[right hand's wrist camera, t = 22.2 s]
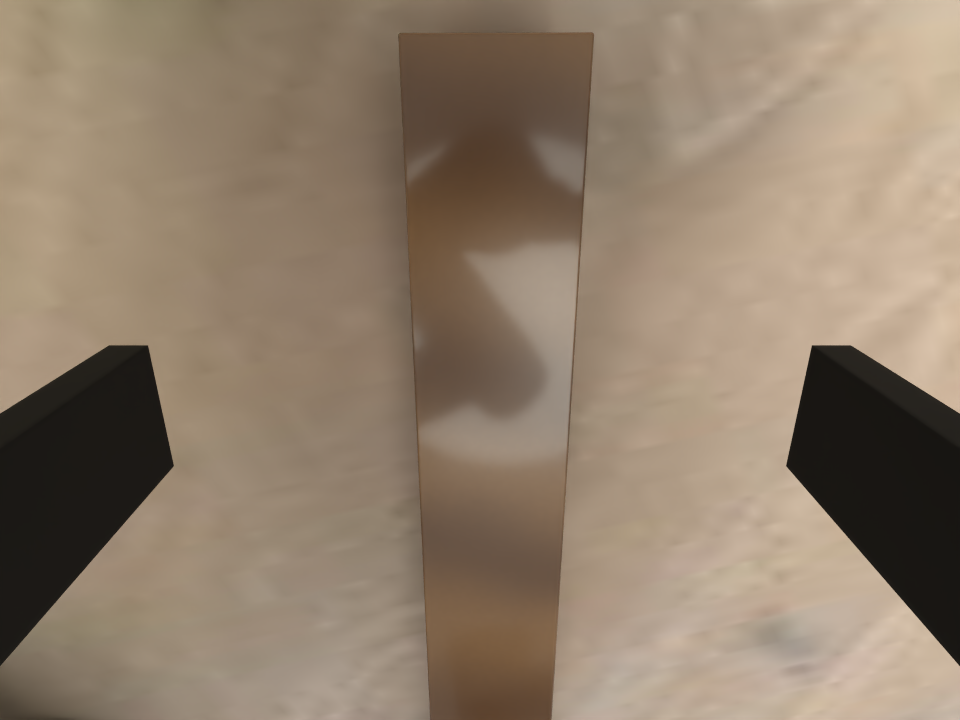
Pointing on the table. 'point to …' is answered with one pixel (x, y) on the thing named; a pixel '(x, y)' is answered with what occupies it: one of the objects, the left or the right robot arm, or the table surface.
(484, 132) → the bar
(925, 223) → the table surface
